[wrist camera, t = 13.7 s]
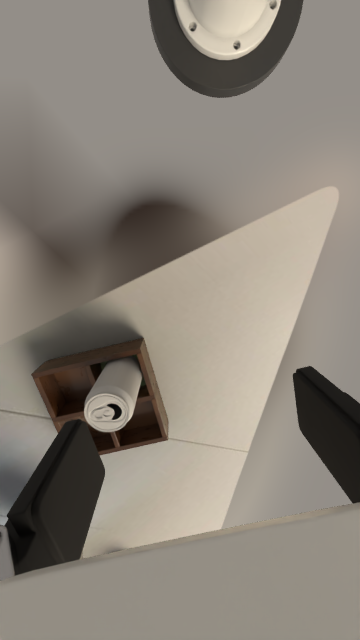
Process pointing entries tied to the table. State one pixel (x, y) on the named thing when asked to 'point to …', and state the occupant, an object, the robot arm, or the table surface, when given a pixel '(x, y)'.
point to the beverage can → (114, 395)
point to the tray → (77, 381)
